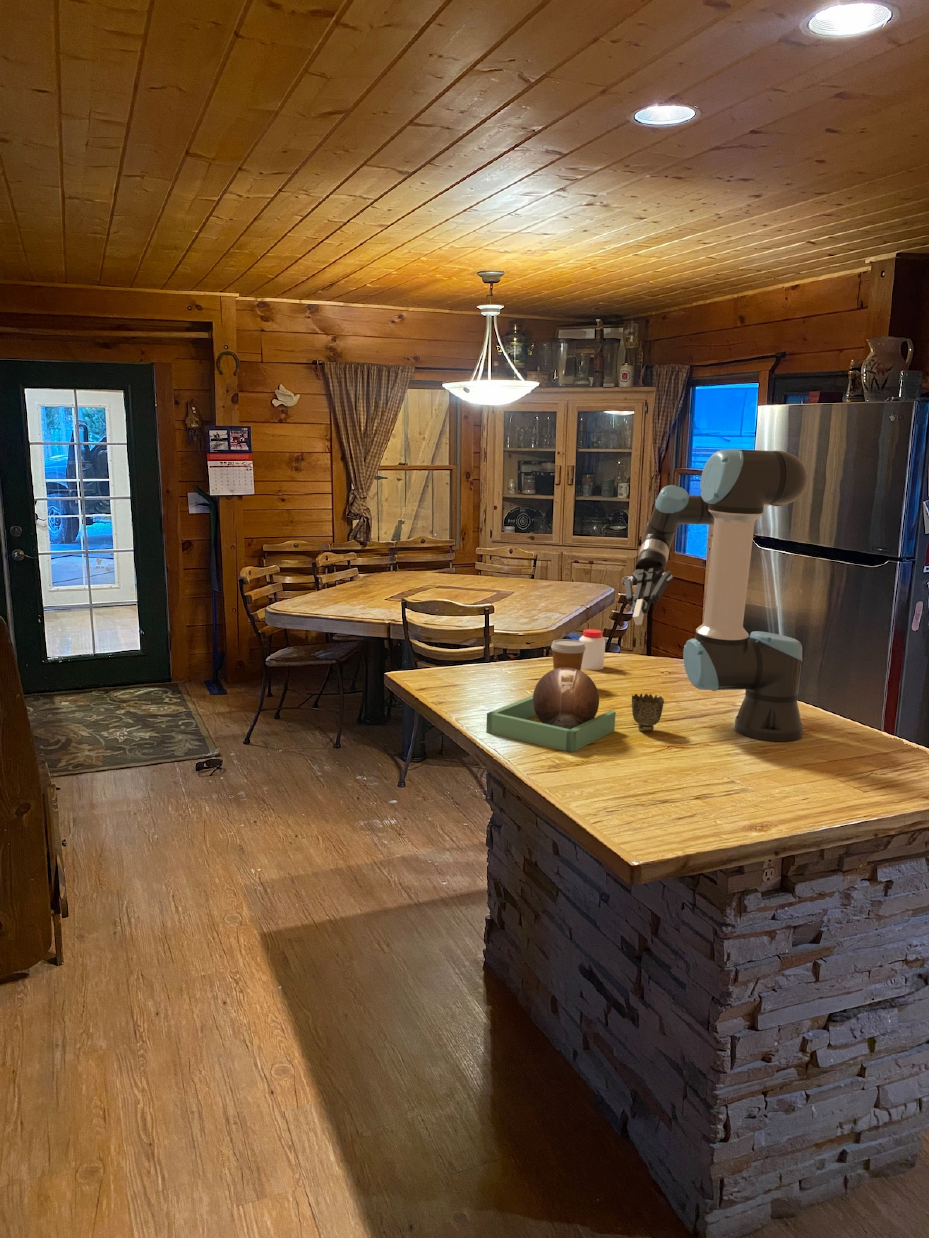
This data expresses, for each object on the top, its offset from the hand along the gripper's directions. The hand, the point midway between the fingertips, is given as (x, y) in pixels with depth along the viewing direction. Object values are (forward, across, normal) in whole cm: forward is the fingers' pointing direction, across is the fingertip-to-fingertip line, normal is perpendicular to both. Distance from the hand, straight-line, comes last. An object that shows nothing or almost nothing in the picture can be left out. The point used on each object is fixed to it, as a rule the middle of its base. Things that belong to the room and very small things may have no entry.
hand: (637, 620), depth 222 cm
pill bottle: (-26, +30, -38) cm, 55 cm away
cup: (+23, -2, -14) cm, 27 cm away
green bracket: (+31, +16, -4) cm, 35 cm away
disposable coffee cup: (-5, +28, -25) cm, 38 cm away
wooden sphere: (+31, +14, -5) cm, 34 cm away
